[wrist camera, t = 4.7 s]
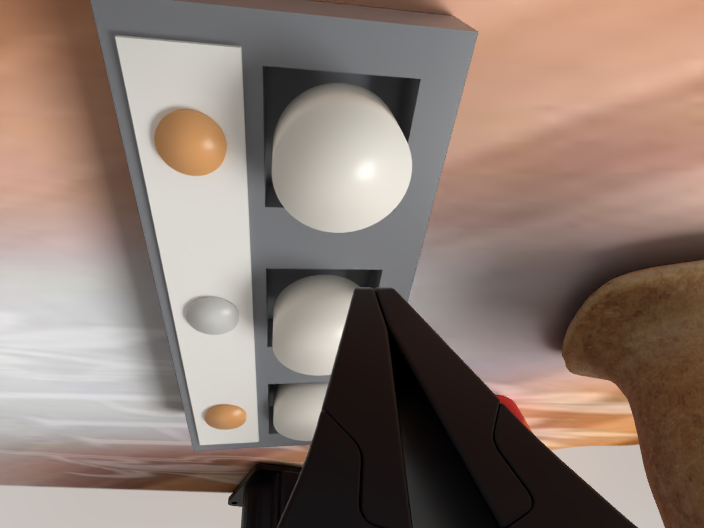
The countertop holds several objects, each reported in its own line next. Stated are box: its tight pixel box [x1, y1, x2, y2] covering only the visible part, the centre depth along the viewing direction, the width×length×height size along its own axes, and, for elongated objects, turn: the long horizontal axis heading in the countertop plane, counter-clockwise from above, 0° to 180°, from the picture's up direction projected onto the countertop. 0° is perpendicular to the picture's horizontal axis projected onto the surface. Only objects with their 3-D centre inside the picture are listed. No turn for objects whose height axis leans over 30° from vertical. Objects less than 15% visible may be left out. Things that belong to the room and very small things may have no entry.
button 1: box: [272, 83, 412, 233], centre depth 14 cm, size 4×4×2 cm
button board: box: [90, 0, 478, 451], centre depth 21 cm, size 24×11×3 cm, turn 174°
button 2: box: [273, 382, 329, 441], centre depth 25 cm, size 4×4×2 cm
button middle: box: [272, 275, 360, 376], centre depth 19 cm, size 4×4×2 cm
